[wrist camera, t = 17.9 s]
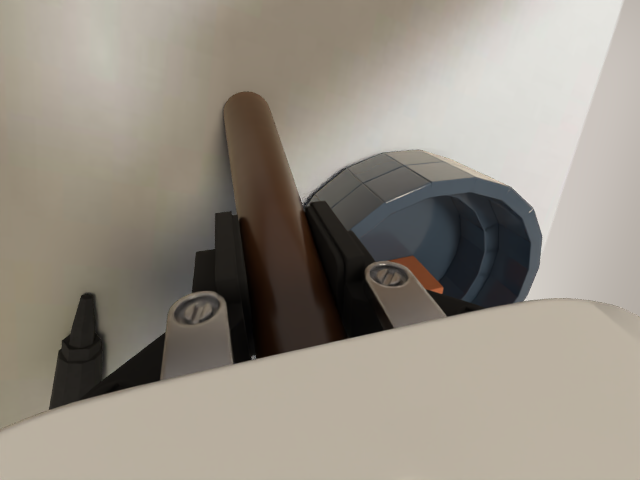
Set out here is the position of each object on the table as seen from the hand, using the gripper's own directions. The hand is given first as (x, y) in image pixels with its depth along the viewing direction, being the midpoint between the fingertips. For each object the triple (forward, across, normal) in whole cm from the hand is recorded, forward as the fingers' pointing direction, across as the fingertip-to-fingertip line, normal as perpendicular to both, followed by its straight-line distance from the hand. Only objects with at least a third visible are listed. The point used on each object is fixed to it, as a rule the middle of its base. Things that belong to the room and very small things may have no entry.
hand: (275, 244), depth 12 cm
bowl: (+8, -9, +7) cm, 14 cm away
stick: (+8, 0, -3) cm, 9 cm away
